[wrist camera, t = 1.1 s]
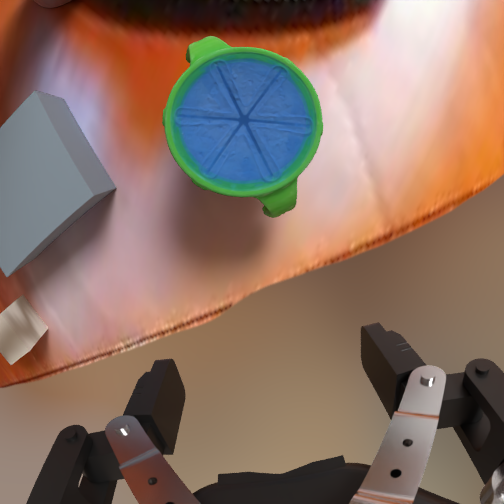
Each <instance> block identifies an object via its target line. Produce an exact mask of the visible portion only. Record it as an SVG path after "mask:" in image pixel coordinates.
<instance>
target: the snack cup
mask: <svg viewBox="0 0 504 504" xmlns="http://www.w3.org/2000/svg"><path fill="white" fill-rule="evenodd" d="M186 60H187V62H189V63H190V67H189V68H188V69H187V70H186V71H185V72H184V73H183V74H182V75H181V77H180V78H179V79H178V81H177V82H176V84H175V85H174V87H173V89H172V91H171V93H170V95H169V98H168V101H167V105H166V108H165V109H164V110H163V122H162V124H163V125H164V126H165V134H166V139H167V143H168V146H169V149H170V152H171V154H172V156H173V157H174V159H175V161H176V162H177V164H178V165H179V166H180V168H181V169H182V170H183V171H184V172H185V173H186V174H187V175H188V176H189V177H190V178H191V179H192V182H193V183H194V184H196V185H197V186H199V187H200V188H202V189H203V190H210V191H213V192H215V193H218V194H222V195H226V196H234V197H255V198H257V199H258V200H260V201H261V202H262V203H263V205H264V207H263V208H262V209H263V211H264V214H265V215H267V216H269V217H272V218H275V217H278V216H280V215H281V214H284V213H285V212H287V211H290V210H292V209H293V208H294V207H295V205H296V199H297V178H298V176H299V175H300V174H301V173H302V172H303V171H304V170H305V168H306V167H307V166H308V165H309V163H310V162H311V160H312V159H313V157H314V155H315V153H316V151H317V148H318V146H319V142H320V137H321V135H322V133H323V122H322V113H321V107H320V102H319V99H318V95H317V94H316V91H315V89H314V88H313V86H312V84H311V83H310V81H309V80H308V78H307V77H306V76H305V75H304V73H303V72H302V71H301V70H300V69H299V68H298V67H296V66H295V64H294V63H292V62H291V61H290V60H289V59H287V58H285V57H282V56H280V55H278V54H276V53H273V52H271V51H267V50H265V49H260V48H253V47H234V48H233V47H230V46H229V45H227V44H226V43H225V42H223V41H222V40H220V39H218V38H217V37H214V36H209V37H206V38H204V39H202V40H200V41H198V42H194V43H192V44H190V45H189V46H188V49H187V53H186Z"/></svg>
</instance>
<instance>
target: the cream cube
mask: <svg viewBox="0 0 504 504" xmlns="http://www.w3.org/2000/svg"><path fill="white" fill-rule="evenodd" d="M47 329H48V327H47V326H46V324H45V323H44V322H43V321H42V319H41V318H40V317H39V315H38V314H37V313H36V311H35V310H34V309H33V307H32V306H31V305H30V303H29V302H28V301H27V299H26V298H25V296H24V295H22V296H20V297H19V298H18V299H17V300H16V301H14V302H13V303H12V304H11V305H10V306H9V307H8V308H6V309H5V310H4V311H3V312H2V313H1V314H0V353H1V354H2V355H3V356H4V357H5V359H6V360H7V361H8V362H9V364H10V365H12V364H13V363H15V362H16V361H17V360H18V359H20V358H21V357H22V356H24V355H25V354H26V353H28V352H29V351H30V350H31V349H32V348H33V346H34V345H35V344H36V343H37V341H38V340H39V339H40V338H41V337H42V335H43V334H44V333H45V332H46V331H47Z"/></svg>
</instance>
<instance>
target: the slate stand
mask: <svg viewBox="0 0 504 504" xmlns="http://www.w3.org/2000/svg"><path fill="white" fill-rule="evenodd" d="M114 189H116V186H115V185H114V183H113V182H112V180H111V178H110V177H109V175H108V174H107V172H106V170H105V169H104V167H103V166H102V164H101V162H100V161H99V159H98V157H97V156H96V154H95V152H94V151H93V149H92V147H91V146H90V144H89V142H88V141H87V139H86V137H85V136H84V134H83V132H82V130H81V129H80V127H79V125H78V123H77V122H76V120H75V118H74V116H73V114H72V113H71V111H70V109H69V107H68V105H67V104H66V102H65V100H64V99H63V98H60V97H56V96H53V95H50V94H46V93H43V92H39V91H36V90H35V91H34V92H33V93H32V94H31V95H30V96H29V97H28V98H27V99H26V100H25V101H24V102H23V103H22V104H21V105H20V106H19V107H18V109H17V110H16V111H15V112H14V113H13V114H12V115H11V116H10V117H9V118H8V120H7V121H6V122H5V123H4V124H3V125H2V127H1V128H0V267H1V269H2V271H3V272H4V274H5V275H6V277H8V276H10V275H11V274H13V273H14V272H15V271H17V270H18V269H20V268H21V267H23V266H24V265H26V264H27V263H29V262H30V261H32V260H33V259H35V258H36V257H37V256H38V255H39V254H40V253H41V252H42V251H43V250H44V249H45V248H46V247H47V246H48V245H49V244H50V243H51V242H53V241H54V240H55V239H56V238H57V237H58V236H59V235H60V234H61V233H62V232H64V231H65V230H66V229H67V228H68V227H69V226H70V225H72V224H73V223H74V222H75V221H76V220H77V219H79V218H80V217H81V216H82V215H83V214H84V213H86V212H87V211H88V210H89V209H90V208H92V207H93V206H94V205H95V204H97V203H98V202H99V201H100V200H102V199H103V198H104V197H105V196H107V195H108V194H109V193H110V192H112V191H113V190H114Z"/></svg>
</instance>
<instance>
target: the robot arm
mask: <svg viewBox="0 0 504 504" xmlns="http://www.w3.org/2000/svg"><path fill="white" fill-rule="evenodd" d="M33 1H35V2H36V3H37V4H39V5H40V6H42V7H45V8H53V7H58V6H61V5H64V4H66V3H68V2H70V1H71V0H33ZM361 360H362V365H363V368H364V370H365V372H366V374H367V375H368V378H369V379H370V381H371V383H372V385H373V387H374V389H375V390H376V392H377V394H378V396H379V398H380V400H381V402H382V403H383V405H384V407H385V409H386V411H387V413H388V415H389V417H390V419H391V422H390V425H389V427H388V430H387V432H386V434H385V437H384V439H383V441H382V443H381V446H380V448H379V450H378V452H377V455H376V457H375V459H374V461H373V463H372V465H366V464H360V463H345V460H344V457H343V456H338V457H334V458H330V459H326V460H320V461H316V462H312V463H310V464H307V465H304V466H302V467H299V468H297V469H294V470H291V471H289V472H286V473H283V474H269V473H255V472H241V473H230V474H218V482H217V483H214V484H211V485H208V486H206V487H203V488H201V489H199V490H198V491H196V492H194V493H193V494H192V493H191V492H190V490H189V489H188V488H187V487H186V486H185V484H184V483H183V482H182V481H181V479H180V478H179V477H178V475H177V474H176V473H175V472H174V470H173V469H172V468H171V466H170V465H169V464H168V463H167V461H166V460H165V458H164V457H163V454H166V455H172V454H173V452H174V448H175V443H176V439H177V433H178V429H179V424H180V420H181V416H182V411H183V407H184V402H185V389H184V385H183V383H182V380H181V377H180V375H179V372H178V369H177V367H176V364H175V362H174V360H173V359H164V360H156V361H155V362H154V364H153V367H152V369H151V371H150V372H146V373H145V374H144V375H143V376H142V377H141V378H140V379H139V380H138V382H137V384H136V386H135V389H134V391H133V393H132V396H131V398H130V400H129V402H128V404H127V407H126V409H125V411H124V414H123V416H120V417H117V418H115V419H113V420H111V421H110V422H109V423H108V424H107V426H106V428H105V431H100V432H95V433H90V434H88V433H87V431H86V429H85V428H84V427H82V426H80V425H72V426H69V427H66V428H65V429H63V430H62V431H61V432H60V433H59V435H58V436H57V439H56V441H55V443H54V444H53V446H52V449H51V451H50V453H49V455H48V457H47V459H46V461H45V463H44V465H43V467H42V470H41V472H40V474H39V476H38V478H37V480H36V483H35V485H34V487H33V489H32V492H31V494H30V496H29V499H28V501H27V504H112V500H113V496H114V492H115V488H116V484H117V480H119V479H125V480H126V482H127V484H128V486H129V487H130V489H131V491H132V493H133V495H134V496H135V498H136V500H137V501H138V503H139V504H459V503H457V502H454V501H451V500H449V499H446V498H443V497H441V496H438V495H436V494H434V493H431V492H429V491H426V490H424V489H422V488H420V487H419V485H420V482H421V479H422V476H423V473H424V470H425V467H426V464H427V461H428V458H429V454H430V451H431V447H432V444H433V440H434V437H435V433H436V429H441V428H448V427H453V428H454V430H455V432H456V433H457V435H458V437H459V438H460V440H461V442H462V444H463V446H464V447H465V449H466V451H467V453H468V454H469V456H470V458H471V460H472V462H473V464H474V465H475V467H476V469H477V471H478V473H479V475H480V477H481V478H482V480H483V482H484V484H485V486H484V487H483V489H482V491H481V494H480V502H481V504H504V373H503V371H502V370H501V369H500V368H499V367H498V366H497V365H496V364H495V363H494V362H492V361H490V360H488V359H475V360H472V361H471V362H469V363H468V364H467V366H466V368H465V372H463V373H455V374H445V373H444V371H443V370H442V369H440V368H438V367H435V366H427V365H426V364H425V363H424V362H423V361H422V359H421V358H420V357H419V356H418V354H417V353H416V352H415V351H414V350H413V349H412V348H411V346H410V345H409V344H408V343H407V342H406V340H405V339H404V338H403V337H402V336H401V335H400V334H398V333H396V332H394V331H388V332H386V331H385V330H384V328H383V327H382V326H381V324H380V323H374V324H370V325H366V326H362V327H361ZM82 474H83V477H82V480H81V483H80V486H79V487H78V484H79V480H80V477H81V475H82Z"/></svg>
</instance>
